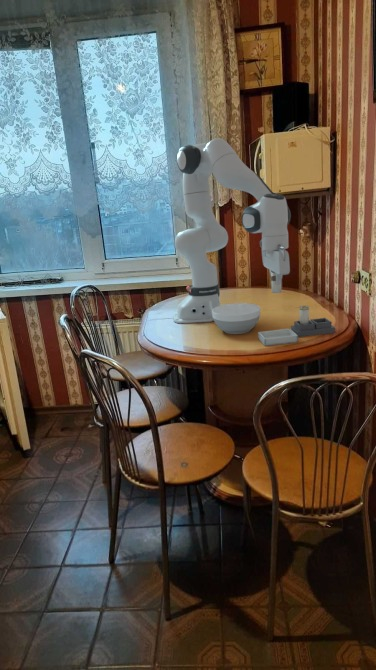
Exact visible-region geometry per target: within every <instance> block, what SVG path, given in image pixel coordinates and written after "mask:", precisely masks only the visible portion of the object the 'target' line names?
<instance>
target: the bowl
mask: <svg viewBox="0 0 376 670" xmlns="http://www.w3.org/2000/svg"><path fill="white" fill-rule="evenodd" d="M212 314H213V318H214V321H213V322H214V324H215V325H217V327H218V328H219V329H220V330H222V332H224V333H226V334H229V335H241V334H247V333H249V332H250V331H251V330H252V329H253V328H255V326H256V325H257V324H258V322H259V321H260V318H261V317H260V316H261V307H260V305H257V304H254V303H251V302H250V303H249V302H235V303H234V302H232V303H226V304H220V306H217V307H215V308H214V309H213V310H212Z"/></svg>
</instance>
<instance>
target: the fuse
mask: <svg viewBox="0 0 376 670" xmlns="http://www.w3.org/2000/svg"><path fill="white" fill-rule="evenodd" d="M298 309H299V321H300V325H304V324H309V320H310V305H300V306H299V307H298Z"/></svg>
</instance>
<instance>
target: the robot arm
mask: <svg viewBox="0 0 376 670" xmlns="http://www.w3.org/2000/svg"><path fill="white" fill-rule="evenodd" d="M176 165H177V168H178V169H179V171H180V172H181V173H182V197H183V203H184V212H185V214H186V216H187V217H188V218H190V219H192V220H193V221H194V222H195V224H196V227H195V228H194V227H193V228H188V229H185V230H182V231H180V232H177V234H176V235H175V238H174V247H175V250H176V251H177V253H178V254H179V255H180V256H182V257H184V258H185V260H186V261H187V263H188V265H189V269H190V274H191V275H190V276H191V283H192V285H191V286H189V285H187V286H186V288H185V289H186V290H187V291H188V292H187V293H188V295H187V296H186V297H185V298H184V299H182V301H180V302H179V304H178V306H177V313H175V314H173V316H172V320H173V322H174V323H176V324H193V323H207V322H209V323H210V322H215V321H214V318H213V314H212V310H213V309H214V308H215V307H217V306H220V305H221V301H220V292H221V291H220V286H219V285H220V284H219V282H218V269H217V265H215V263H213V262H211V261H209V259H208V257H207V253H213V252H216V251H219V250H221V249H223V248H225V247H226V246H227V244H228V242H229V234H228V231H227V230H226V228H225V227H224V226H222V225H221V224H220V223H219V221H218V220H217V218H216V216H215V214H214V210H213V205H212V200H211V199H212V198H211V191H210V185H209V177H210V176H211V174H212V175H213V177H214V179H215V180H216V181H217V183H219V185H220V186H222V187H223V188H226V189H230V190H237V191H242V192H245V193H248V194H250V195H252V196H253V197H254V198H255V199H256V201H257V202H256V203H254V204H252V205H249V206H246V207H245V208H244V210H243V211H242V214H241V225H242V227H243V229H244V230H245V231H246V233H249V234H258V233H259V234H261V240H260V241H259V247H260V248H261V258H262V265H263V266H264V267H265V268H266V269H268V270H269V275H270V276H271V270H272V271H273V272H275V274H276V280H275V284H276V285H281V286H282V279H283V276H286V275H289V274H290V273H291V268H290V267H291V265H290V254H289V252H288V250H286V249H288V248H289V230H288V225H289V224H290V222H291V217H292V215H291V210H290V208H289V206H288V203H287V202H288V201H287V199H286V197H285V195H283V194H279V193H274V192H273V190H272V189H271V188H270V187H269V186H268V185H267V183H266V182H265V181H264V180H263V178H261V177H260V175H258V174H257V173H256V172H255V171H253V170H252V169H251V168H249V167H248V166H247V165H246V164H245V163H244V161H242V160H241V157H239V156H238V154H237V153H236V151H235V150H234V148H233V147H232V146H231V145H230V144H229V143H228V142H227V141H226V140H225V139H223V138H222V137H221V138H219V137H218V138H217V137H216V138H213V139H212V140H210V141H209V142H202V143H197V144H187V145H184V146H182V147H180V148H179V150H178V152H177V154H176Z"/></svg>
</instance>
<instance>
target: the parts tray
mask: <svg viewBox="0 0 376 670" xmlns="http://www.w3.org/2000/svg"><path fill="white" fill-rule="evenodd" d="M257 338H258V340H259V342H261V344H263V346H264V347H270V346H278V345H285V344H286V345H287V344H294V343H299V337H298V335H297V334H296V333H294V332H293V331H292V330H291V328H281V329H275V330H265V331H258V332H257Z"/></svg>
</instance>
